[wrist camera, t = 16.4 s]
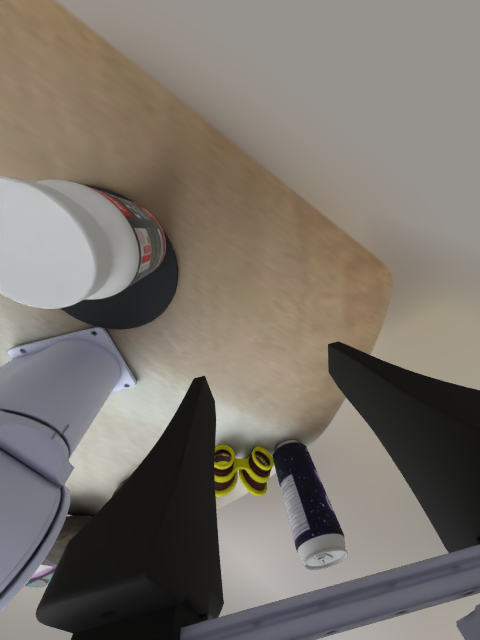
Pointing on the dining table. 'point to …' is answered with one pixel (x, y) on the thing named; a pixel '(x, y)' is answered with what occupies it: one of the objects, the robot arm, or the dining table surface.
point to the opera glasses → (241, 470)
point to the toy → (42, 574)
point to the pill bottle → (72, 243)
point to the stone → (66, 536)
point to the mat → (132, 295)
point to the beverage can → (308, 508)
